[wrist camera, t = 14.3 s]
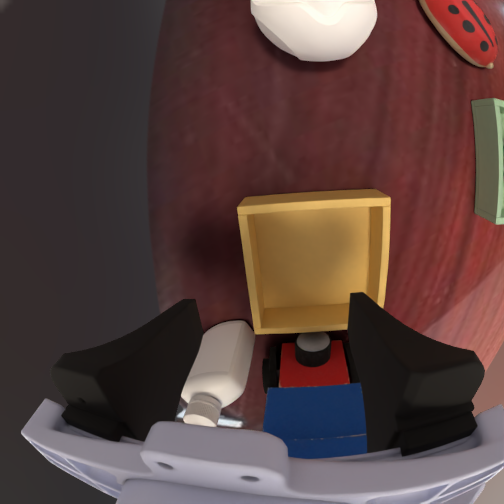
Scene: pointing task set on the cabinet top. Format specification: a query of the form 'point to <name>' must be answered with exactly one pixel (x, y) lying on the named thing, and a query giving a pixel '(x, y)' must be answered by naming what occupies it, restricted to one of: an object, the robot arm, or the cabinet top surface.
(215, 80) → the cabinet top surface
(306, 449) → the toy train
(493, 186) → the sage bin
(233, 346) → the eye dropper bottle
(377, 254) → the ochre bin
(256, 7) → the white lumpy ball
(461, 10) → the ladybug figurine
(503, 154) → the supplement bottle
